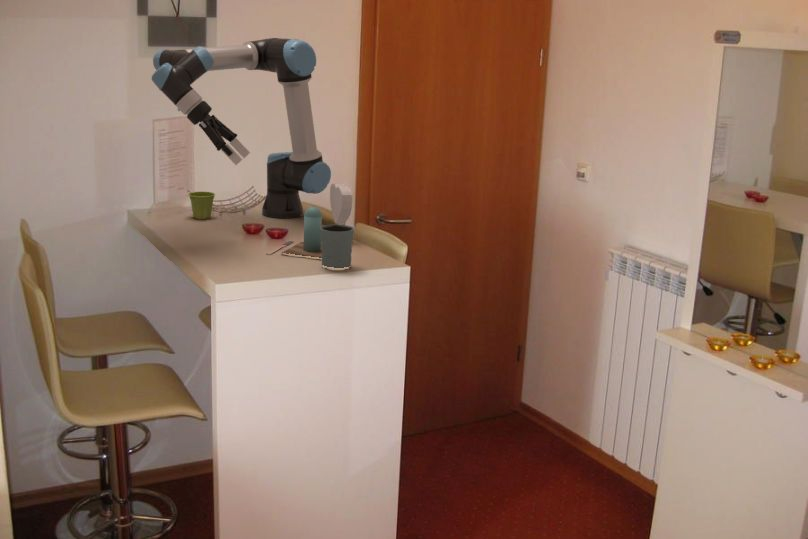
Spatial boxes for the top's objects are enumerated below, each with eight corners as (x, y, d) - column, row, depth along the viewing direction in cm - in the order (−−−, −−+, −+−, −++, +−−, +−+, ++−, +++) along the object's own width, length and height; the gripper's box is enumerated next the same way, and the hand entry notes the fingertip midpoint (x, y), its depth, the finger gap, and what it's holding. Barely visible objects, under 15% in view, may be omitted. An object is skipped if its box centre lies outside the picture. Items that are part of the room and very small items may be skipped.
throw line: (289, 241, 305) (289, 240, 305) (293, 242, 304) (293, 241, 304) (265, 254, 288) (265, 253, 288) (270, 254, 288) (270, 253, 288)
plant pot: (212, 221, 329) (212, 197, 327) (185, 219, 329) (185, 195, 327) (217, 215, 338) (217, 192, 336) (192, 214, 338) (191, 190, 336)
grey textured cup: (325, 272, 271) (326, 232, 268) (314, 263, 280) (315, 224, 277) (357, 270, 275) (359, 230, 272) (346, 261, 284) (347, 223, 281)
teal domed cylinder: (307, 246, 296) (308, 204, 292) (323, 248, 295) (324, 206, 291) (300, 250, 291) (301, 207, 287) (316, 252, 290) (318, 209, 286)
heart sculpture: (353, 243, 307) (354, 189, 302) (338, 243, 306) (339, 189, 301) (340, 232, 321) (342, 181, 316) (326, 232, 320) (328, 181, 315)
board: (301, 244, 303) (301, 241, 302) (341, 248, 299) (341, 246, 299) (281, 255, 288) (281, 252, 287) (323, 260, 284) (323, 257, 284)
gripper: (195, 111, 298) (242, 160, 302) (175, 120, 274) (227, 173, 278) (211, 95, 296) (258, 145, 300) (193, 103, 272) (244, 156, 276)
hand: (243, 158), depth 289 cm, fingers open, 13 cm apart
